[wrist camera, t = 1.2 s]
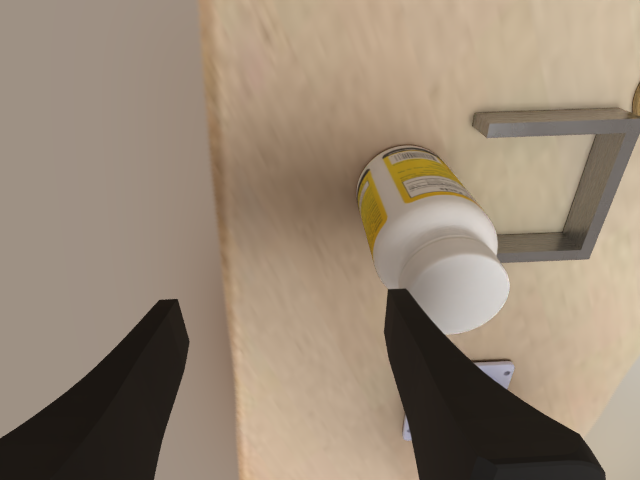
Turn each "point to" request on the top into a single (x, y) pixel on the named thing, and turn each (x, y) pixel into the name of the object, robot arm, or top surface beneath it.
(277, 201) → the top surface
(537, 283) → the top surface
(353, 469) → the top surface
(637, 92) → the gold disc
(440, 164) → the supplement bottle
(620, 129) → the bracket
